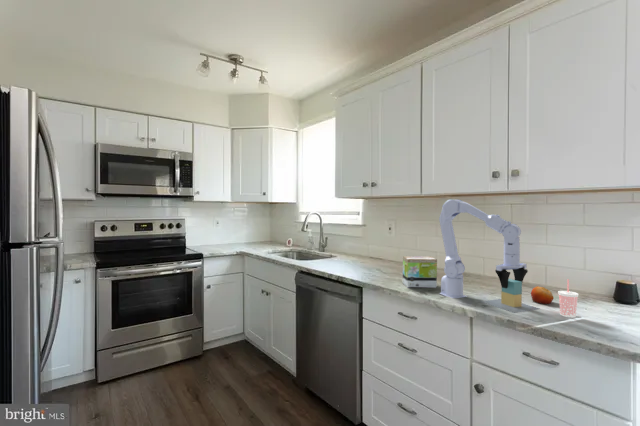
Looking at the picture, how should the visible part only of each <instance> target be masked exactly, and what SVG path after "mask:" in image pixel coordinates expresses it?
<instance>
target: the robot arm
mask: <svg viewBox="0 0 640 426" xmlns="http://www.w3.org/2000/svg"><path fill="white" fill-rule="evenodd" d="M441 207H442V208H441V212H440V215H439V225H440V226H439V227H440V231H441V235H442V236H441V237H442V240H443V242H442V243H443V247H444V251H445V259H444V267H443V272H444V274H445V275H443V276H442V277H441V278H440V279H441V280H440V292H439V295H441V296H444V297H449V298H452V299H460V298H465V297H467V298H468V296H467V295H464V275H463V274H464V272H465V270H466V267H465V264H464V263H463V262H462V258H461V257H460V254H459V252H458V251H459V250H458V247H457V242H456V236H455V232H454V231H455V230H454V227H453V226H454V225H453V220H454V219H455V218H456V217H457V216H458V215H459V214H462V213H463V214H465V213H467V214H469V215H471V216H473V217H475V218H477V219H479V220H481V221H484V222H485V223H484V224H485V226H486V227H487V228H490V229H492V230H493V231H495V232H497V233H498V234H502V236H503V263H502V264H498V265H495V273H496V274H497V277H498V279H499V283H500V286H501V289H502V288H507V287H508V279H510V275H511V272H510V271H508V270H512V272H513V277H514V280H517V281H521V282H522V283H523V282H524V278H525V276H526V274H528V272H529V271H528V268H527V263H523V262H521V261H520V259H521V254H520V253H521V248H520V247H521V244H520V241H521V240H520V236H521V234H522V229H521V227H520V226H518V224H516V223H512V221H510V220H508V221H507V220H505V219H504V218H502V217H501V215H500V214H494V213H493V214H488V213H487V212H485V211H483V210H481V209H480V208H478V207H476V206H474V205H472V204H470V203H469V202H466V201H463V200H461V199H451V198H450V199H447V200H446V201H445V202H444V203H443V204H442V206H441Z"/></svg>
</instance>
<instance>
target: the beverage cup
mask: <svg viewBox="0 0 640 426" xmlns="http://www.w3.org/2000/svg"><path fill="white" fill-rule="evenodd" d="M566 280H567V285H566V286H567V288H566V290H558V291H557V294H558V301H559V314H560V316H563V317H566V318H572V320H575V319H576V317H577V307H578V297H579V292H575V291H570V279H569V278H567V279H566Z"/></svg>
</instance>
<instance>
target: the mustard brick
mask: <svg viewBox="0 0 640 426" xmlns="http://www.w3.org/2000/svg"><path fill="white" fill-rule="evenodd" d="M500 292H501V293H500V294H501V295H500V299H501V303H502V304H505V305H508V306H511V307H520V306H521V305H522V303H523V302H522V301H523V300H522V297H523V296H522V294H518V295H513V294H509V293H505V292H502V290H501V291H500Z"/></svg>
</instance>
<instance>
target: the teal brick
mask: <svg viewBox="0 0 640 426" xmlns="http://www.w3.org/2000/svg"><path fill="white" fill-rule="evenodd" d="M501 291H502V292H505V293H509V294H513V295H518V294H522V293H523V282H521V281H517V280H515V279H512V278H509V279H508V287H507V288H502V287H501Z"/></svg>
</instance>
